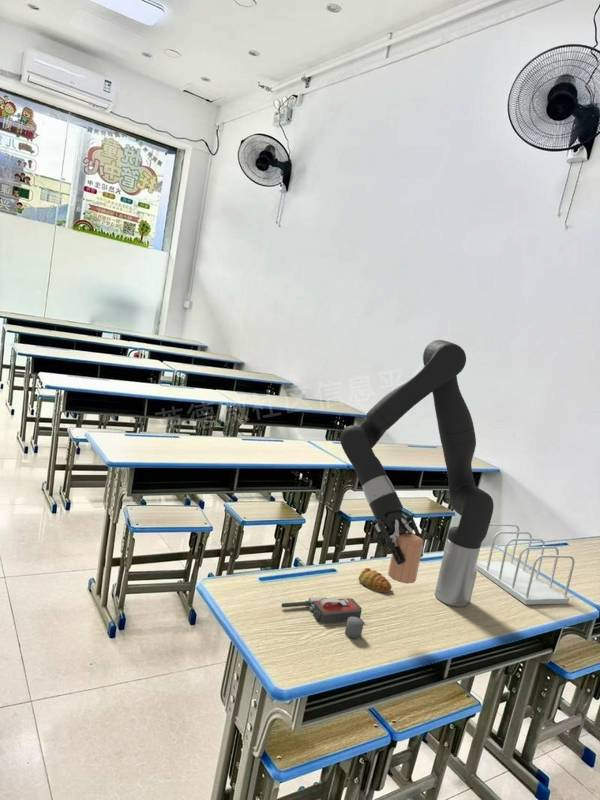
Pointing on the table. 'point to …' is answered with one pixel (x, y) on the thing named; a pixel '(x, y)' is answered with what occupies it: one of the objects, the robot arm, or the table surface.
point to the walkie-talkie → (330, 608)
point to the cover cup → (407, 559)
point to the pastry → (374, 580)
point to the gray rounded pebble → (354, 628)
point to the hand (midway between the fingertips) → (411, 560)
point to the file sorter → (524, 573)
